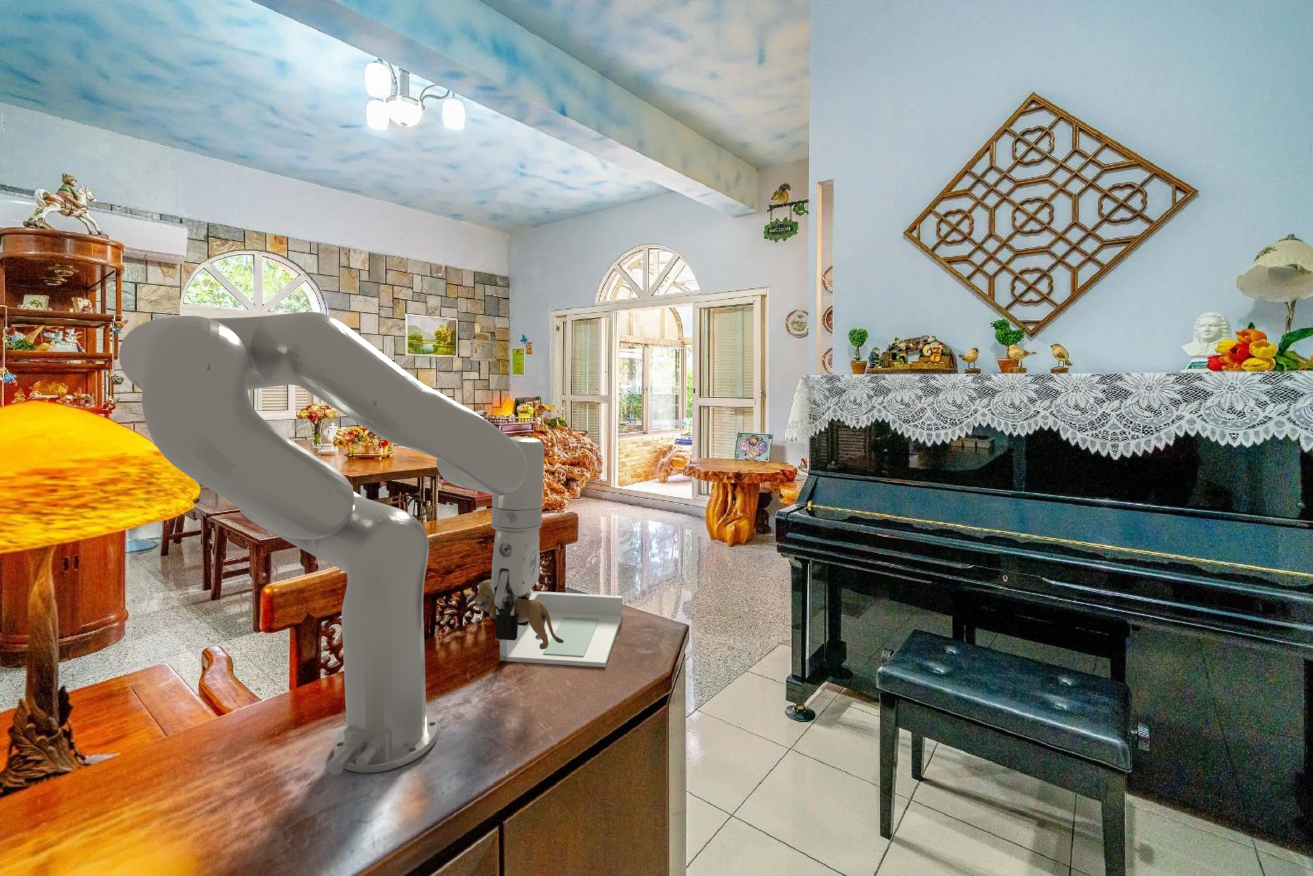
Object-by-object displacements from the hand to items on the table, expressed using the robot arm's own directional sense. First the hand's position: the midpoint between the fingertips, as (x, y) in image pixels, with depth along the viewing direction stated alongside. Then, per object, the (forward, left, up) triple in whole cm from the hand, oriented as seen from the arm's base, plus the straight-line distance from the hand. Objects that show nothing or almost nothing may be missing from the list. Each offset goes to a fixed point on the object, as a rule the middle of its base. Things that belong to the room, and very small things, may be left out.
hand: (512, 630), depth 93 cm
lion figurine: (-1, -1, -1) cm, 2 cm away
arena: (+16, -5, -8) cm, 19 cm away
